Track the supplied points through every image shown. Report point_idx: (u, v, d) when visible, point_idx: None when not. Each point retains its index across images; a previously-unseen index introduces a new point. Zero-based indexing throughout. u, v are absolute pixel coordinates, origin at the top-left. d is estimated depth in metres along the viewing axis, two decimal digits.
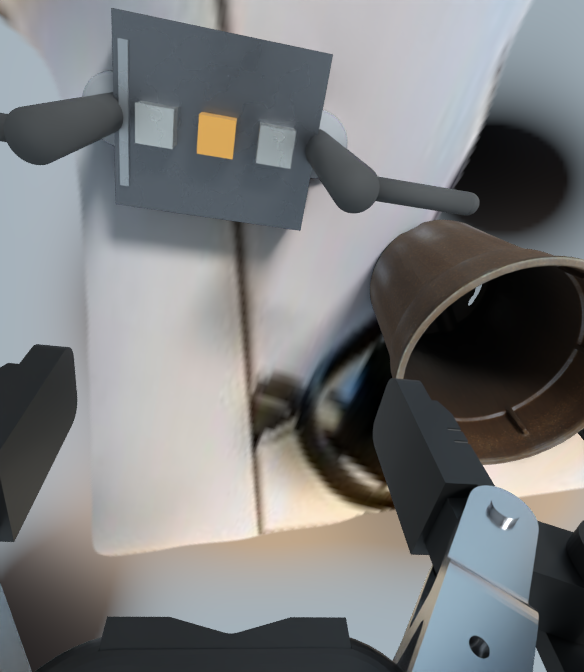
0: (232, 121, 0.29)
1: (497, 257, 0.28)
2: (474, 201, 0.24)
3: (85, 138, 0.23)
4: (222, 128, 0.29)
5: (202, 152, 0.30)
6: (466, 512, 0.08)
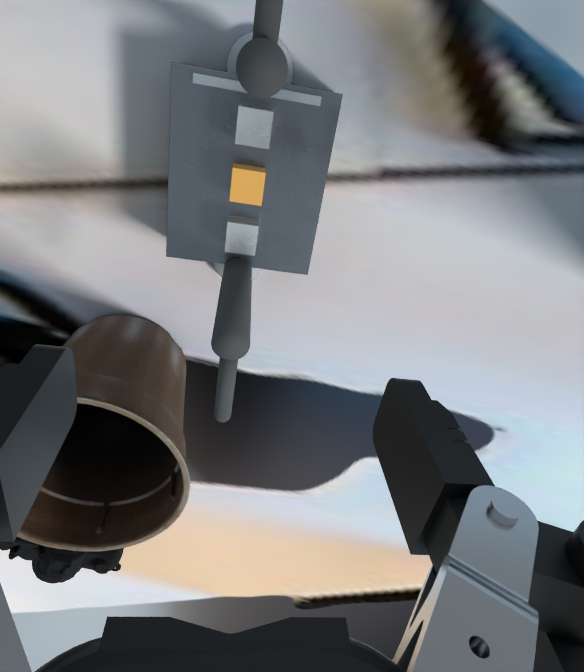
0: (260, 202, 0.34)
1: (179, 435, 0.35)
2: (225, 419, 0.32)
3: None
4: (255, 193, 0.33)
5: (233, 173, 0.32)
6: (466, 512, 0.08)
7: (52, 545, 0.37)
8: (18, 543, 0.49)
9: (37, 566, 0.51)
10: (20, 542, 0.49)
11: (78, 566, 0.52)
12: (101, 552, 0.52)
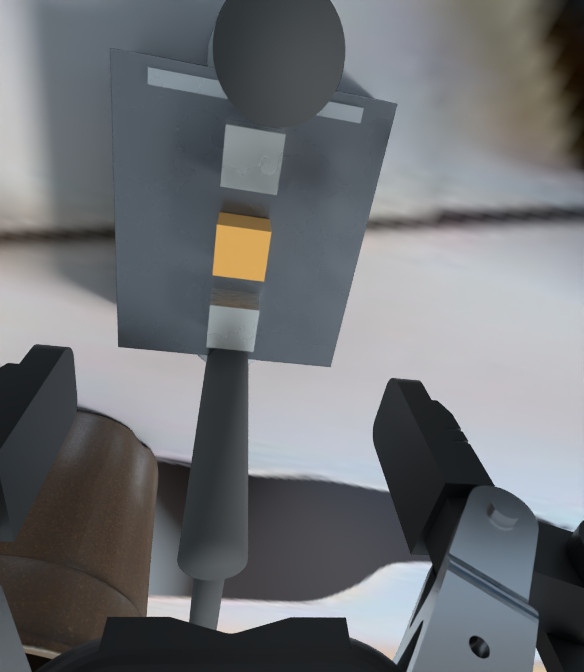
0: (263, 276, 0.21)
1: None
2: None
3: None
4: (253, 263, 0.21)
5: (219, 233, 0.20)
6: (466, 512, 0.08)
7: None
8: None
9: None
10: None
11: None
12: None
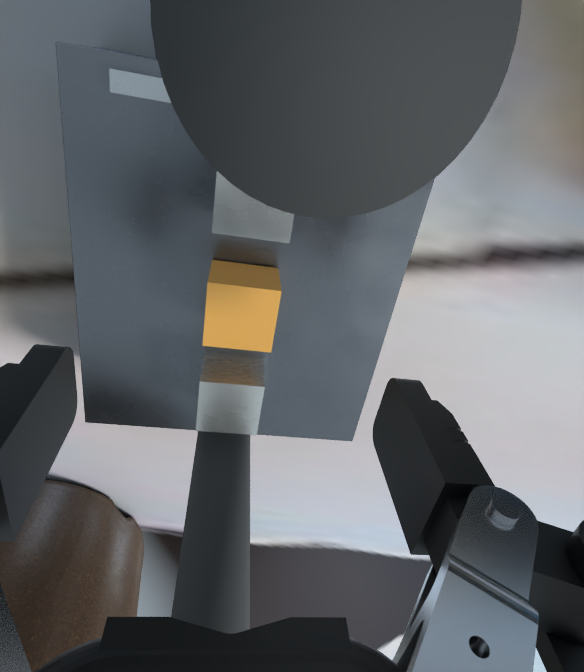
0: (270, 346, 0.16)
1: None
2: None
3: None
4: (257, 330, 0.15)
5: (210, 293, 0.15)
6: (466, 512, 0.08)
7: None
8: None
9: None
10: None
11: None
12: None
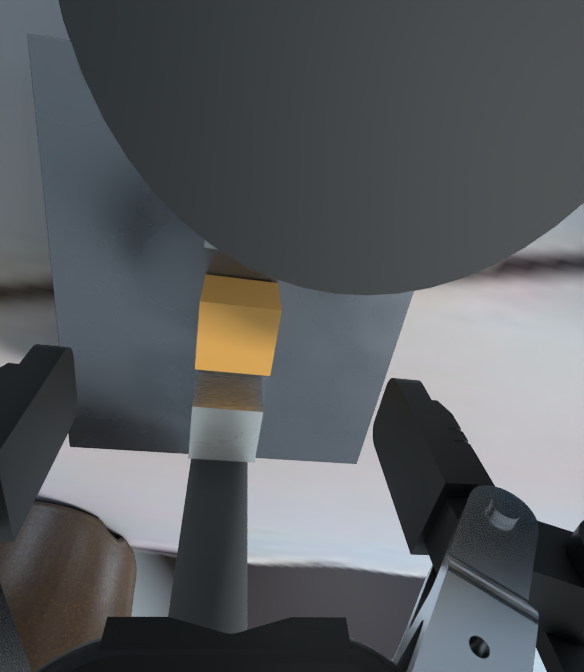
0: (269, 369, 0.14)
1: None
2: None
3: None
4: (255, 352, 0.14)
5: (203, 313, 0.13)
6: (466, 512, 0.08)
7: None
8: None
9: None
10: None
11: None
12: None
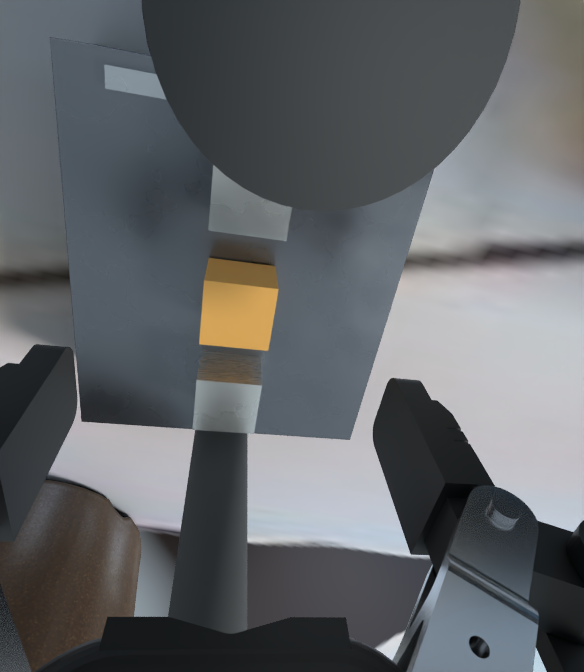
0: (267, 344, 0.16)
1: None
2: None
3: None
4: (254, 328, 0.15)
5: (207, 291, 0.14)
6: (466, 512, 0.08)
7: None
8: None
9: None
10: None
11: None
12: None
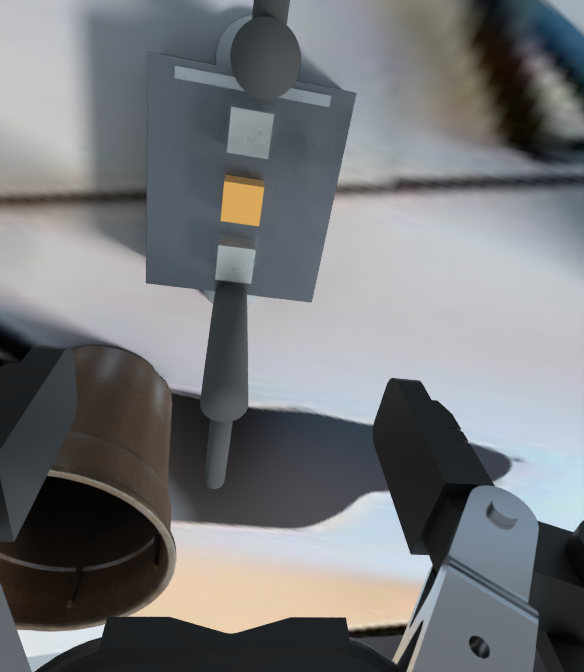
0: (258, 222, 0.28)
1: (162, 498, 0.30)
2: (218, 486, 0.26)
3: None
4: (251, 211, 0.28)
5: (225, 188, 0.27)
6: (466, 512, 0.08)
7: None
8: None
9: None
10: None
11: None
12: None
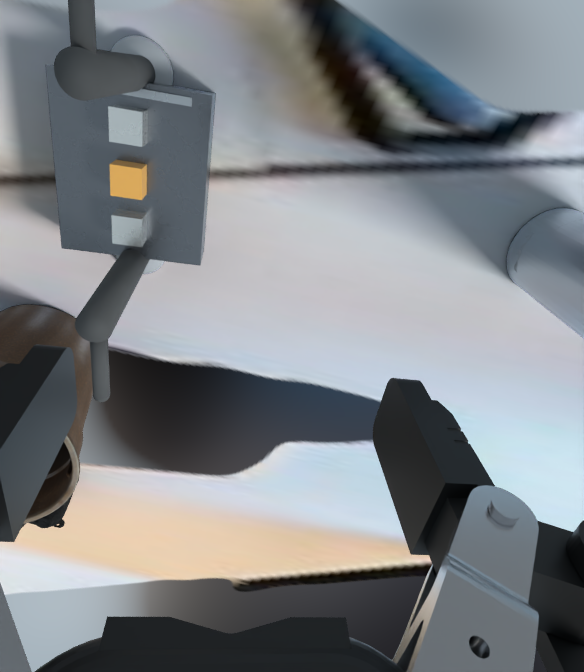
0: (140, 196, 0.36)
1: None
2: (103, 399, 0.34)
3: None
4: (134, 188, 0.35)
5: (111, 169, 0.35)
6: (466, 512, 0.08)
7: None
8: None
9: None
10: None
11: None
12: None
